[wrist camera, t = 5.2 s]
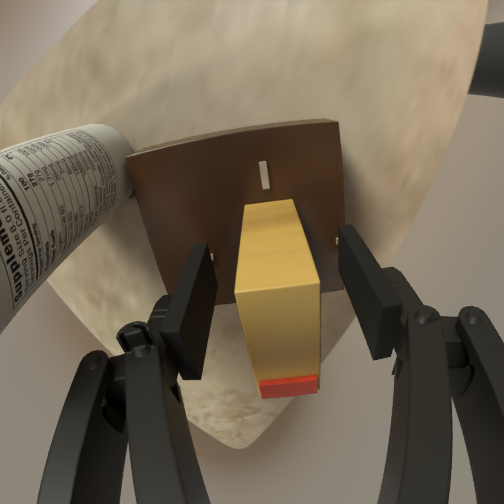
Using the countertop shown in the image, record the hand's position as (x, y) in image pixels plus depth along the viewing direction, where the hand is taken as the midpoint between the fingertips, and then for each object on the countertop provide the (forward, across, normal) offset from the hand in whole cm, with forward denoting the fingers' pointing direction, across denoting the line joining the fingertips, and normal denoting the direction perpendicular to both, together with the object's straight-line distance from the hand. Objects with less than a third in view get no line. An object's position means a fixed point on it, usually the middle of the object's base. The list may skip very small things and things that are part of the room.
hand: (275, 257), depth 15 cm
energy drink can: (+4, -10, +6) cm, 13 cm away
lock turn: (+1, 0, 0) cm, 1 cm away
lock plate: (+4, -2, +2) cm, 5 cm away
